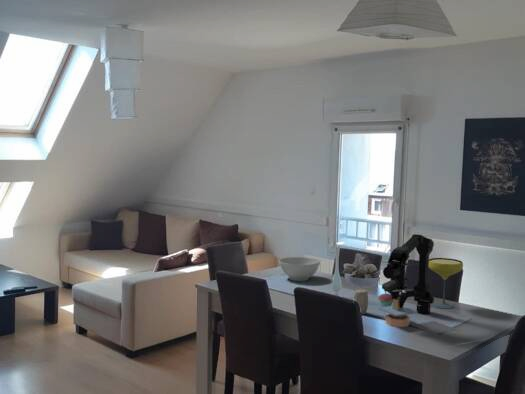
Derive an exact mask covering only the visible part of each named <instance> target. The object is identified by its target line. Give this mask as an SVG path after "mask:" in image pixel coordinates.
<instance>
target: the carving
mask: <svg viewBox="0 0 525 394" xmlns="http://www.w3.org/2000/svg"><path fill="white" fill-rule="evenodd" d="M354 301H357V302H358V303H359V304H360V308H361V313H362V314H361V315H365V314H366V313H367V310H368V308H369V307H368V306H369V293H368V291H367V290H366V289H360V288H359V289H356V290H355V291H354V295H353V302H354Z"/></svg>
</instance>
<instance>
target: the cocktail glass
mask: <svg viewBox="0 0 525 394" xmlns="http://www.w3.org/2000/svg"><path fill="white" fill-rule="evenodd" d="M463 267H464V264H463V261H462V260H459V259H455V258H449V257H447V258H445V257H433V258H429V268H428V269H429V270H431V271H432V272H433V273H436V274H437V275H439V276H440V277H441V279H442V280H443V292H442V293H443V297H442V302H435V303H433V307H435V308H438V309H444V310H445V309H446V310H447V309H449V310H451V309H454V308H455V306H454V305H453V304H450V303H447V302H446V298H445V297H446V295H445V293H446V280H448V278H449V277H450V276H453V275H456V274H457V273H459V272H462V270H463Z"/></svg>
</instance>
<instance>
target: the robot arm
mask: <svg viewBox="0 0 525 394" xmlns="http://www.w3.org/2000/svg"><path fill="white" fill-rule="evenodd" d="M434 244H435V243H434V240H433V239H432V238H428V237H426V236H424V235H423V234H416V233H415V234H412V235H411V237H410V238H409V239H408V240H407V241H406V242H405V243H403V244H402V245H401V246H398V247H397V246H396V248H395V247H394V249H393V250H392V251H391V252H390V256H389V258H388V261H387V264H386V266H385V267H384V268H383V270H382V273H383V276H384V277H385V278H386V279H388V281H386V282H383V283H382V284H381V289H382V290H383V291H384V292H385V291H386V293H387V294H390V295H391V297H392V300H393V299H396V298H399V306H400V308H402V307H403V305H405V303H406V301H407V300H408V298H413V300H414V302H416V311H418V313H417V314H420V315H423V316H425V315H432V314H433V313H432V312H431V304H434V302H435V298H434V296H433V294H432V289H431V286H430V284H429V269H430V268H429V259H430V255H431V253H432V252H433V251H434V250H433V249H434V247H435V245H434ZM414 250H416V251H417V254H418V275H417V283H416V285H414V286H413V289H412V288H407V287H408V286H407V285H406V281H407V280H408V278H407V277H406V266H408V263H407V261H408V260H409V258H410V254H411V252H413V251H414ZM389 279H390V280H389Z"/></svg>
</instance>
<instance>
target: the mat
mask: <svg viewBox="0 0 525 394" xmlns="http://www.w3.org/2000/svg"><path fill="white" fill-rule="evenodd" d="M411 326H412V327H415V328H417V329H420V330H422V331H425V332H427V333H429V334H432V335H436V334H442V333H448V332H452V331H453V332H454V331H458V329H457V328H453V327H451V326H449V325H447V324H444V323H441V322H438V321H436V320H433V321H427V322H420V323H414V324H411Z"/></svg>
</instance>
